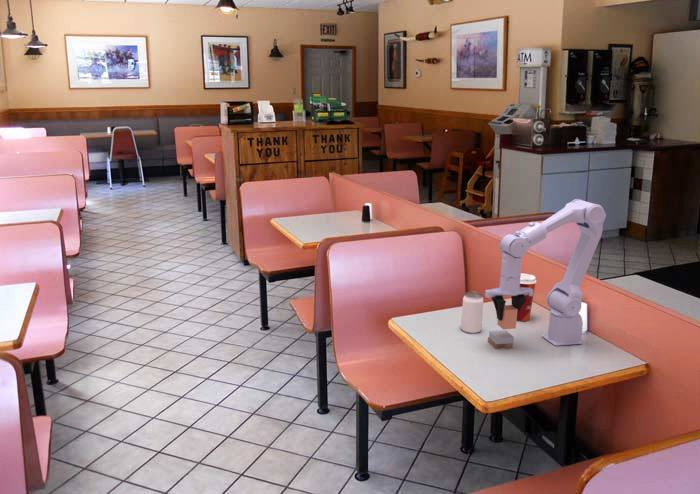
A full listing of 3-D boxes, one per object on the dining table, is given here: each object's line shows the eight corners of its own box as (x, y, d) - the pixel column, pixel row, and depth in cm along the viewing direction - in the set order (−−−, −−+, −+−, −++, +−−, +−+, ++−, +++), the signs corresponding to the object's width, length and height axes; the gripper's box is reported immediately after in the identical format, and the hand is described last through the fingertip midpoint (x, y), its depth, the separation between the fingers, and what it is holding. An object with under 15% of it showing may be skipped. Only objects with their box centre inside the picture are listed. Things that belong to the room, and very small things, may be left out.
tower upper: (505, 336, 196) (506, 330, 196) (513, 343, 191) (513, 337, 190) (488, 337, 195) (489, 331, 195) (495, 344, 190) (496, 337, 190)
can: (476, 335, 201) (479, 299, 198) (457, 330, 204) (460, 295, 201) (484, 329, 206) (486, 293, 203) (465, 324, 209) (467, 290, 206)
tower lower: (503, 342, 197) (504, 336, 196) (512, 349, 192) (512, 343, 191) (487, 343, 196) (488, 337, 195) (495, 350, 190) (496, 344, 190)
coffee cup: (535, 323, 212) (540, 280, 208) (510, 322, 212) (514, 279, 208) (529, 314, 220) (533, 272, 216) (505, 313, 220) (509, 272, 216)
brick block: (509, 323, 193) (511, 304, 191) (515, 328, 189) (517, 309, 187) (497, 324, 192) (499, 305, 190) (503, 329, 188) (505, 310, 187)
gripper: (526, 270, 192) (522, 312, 196) (482, 272, 189) (478, 315, 192) (538, 277, 186) (533, 321, 189) (492, 279, 182) (488, 324, 186)
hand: (506, 318), depth 190 cm, fingers closed on brick block, 4 cm apart
